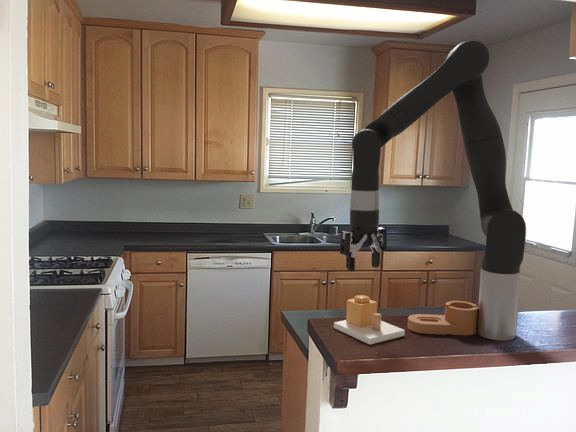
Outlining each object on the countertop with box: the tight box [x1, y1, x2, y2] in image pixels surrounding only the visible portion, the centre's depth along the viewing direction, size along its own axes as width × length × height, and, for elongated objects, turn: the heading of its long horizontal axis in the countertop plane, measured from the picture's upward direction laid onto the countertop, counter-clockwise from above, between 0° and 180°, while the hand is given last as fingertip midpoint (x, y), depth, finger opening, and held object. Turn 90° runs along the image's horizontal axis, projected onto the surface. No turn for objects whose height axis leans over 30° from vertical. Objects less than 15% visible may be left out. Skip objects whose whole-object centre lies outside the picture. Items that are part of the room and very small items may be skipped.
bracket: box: [407, 300, 479, 336], centre depth 138 cm, size 18×8×7 cm, turn 86°
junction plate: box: [333, 312, 406, 345], centre depth 135 cm, size 12×14×6 cm
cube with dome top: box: [345, 294, 378, 328], centre depth 137 cm, size 6×6×7 cm
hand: (363, 268), depth 136 cm, fingers open, 8 cm apart
